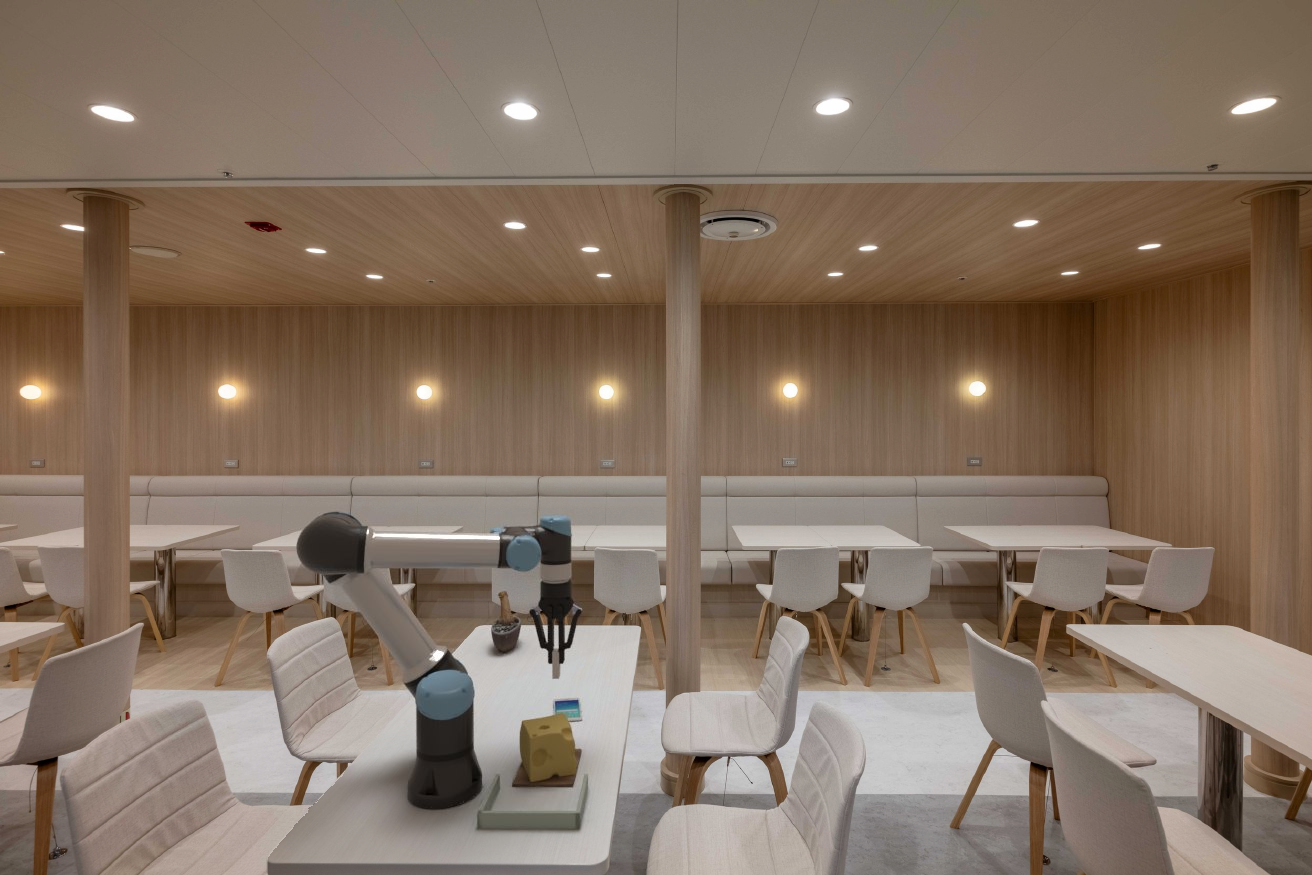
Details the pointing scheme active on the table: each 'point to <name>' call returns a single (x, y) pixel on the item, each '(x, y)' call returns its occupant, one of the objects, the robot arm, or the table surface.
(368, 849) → the table surface
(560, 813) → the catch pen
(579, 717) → the smartphone
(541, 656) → the table surface
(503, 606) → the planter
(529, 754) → the cheese
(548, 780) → the serving board
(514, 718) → the table surface
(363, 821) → the table surface
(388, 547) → the robot arm
